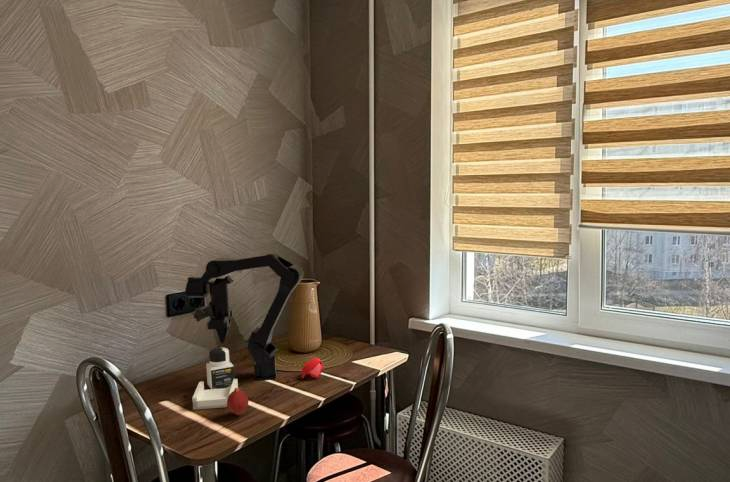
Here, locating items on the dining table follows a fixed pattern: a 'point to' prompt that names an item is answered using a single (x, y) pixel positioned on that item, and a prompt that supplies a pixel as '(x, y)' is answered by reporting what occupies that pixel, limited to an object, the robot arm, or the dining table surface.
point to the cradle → (212, 396)
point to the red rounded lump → (237, 401)
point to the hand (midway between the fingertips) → (222, 343)
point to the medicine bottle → (219, 369)
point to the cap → (312, 368)
